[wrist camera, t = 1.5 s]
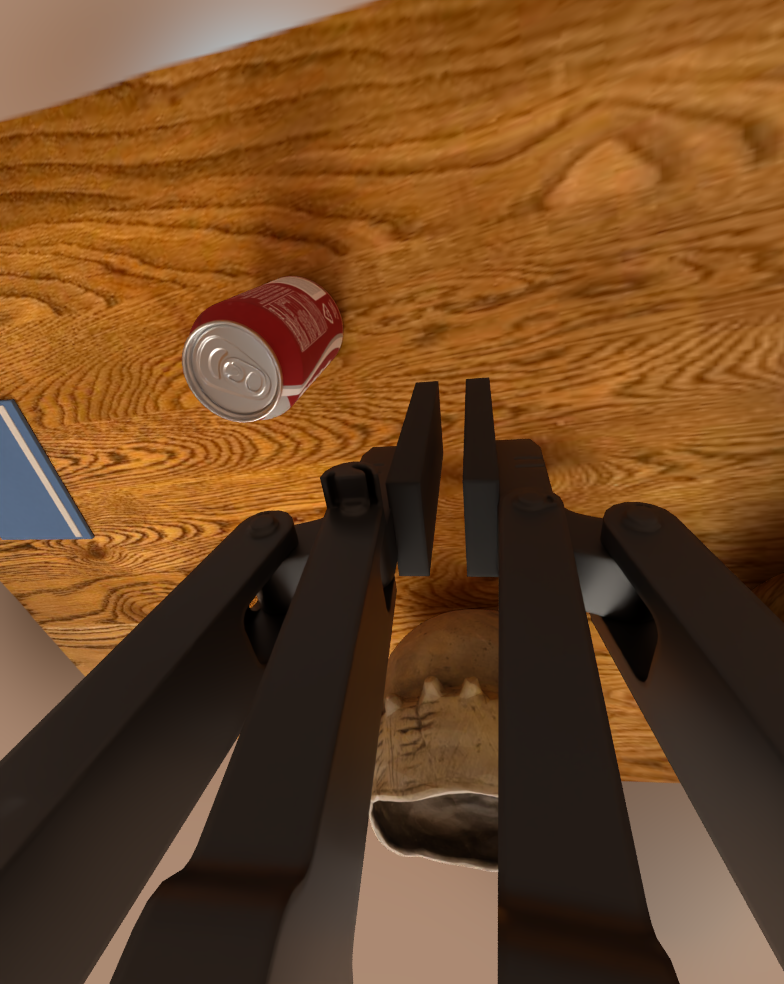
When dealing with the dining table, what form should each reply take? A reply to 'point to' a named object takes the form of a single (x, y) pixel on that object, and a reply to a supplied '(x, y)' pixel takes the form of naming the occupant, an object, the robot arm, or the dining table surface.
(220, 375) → the soda can
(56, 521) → the cloth
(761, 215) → the dining table surface
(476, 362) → the dining table surface
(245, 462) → the dining table surface
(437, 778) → the clay pot
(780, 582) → the ball
